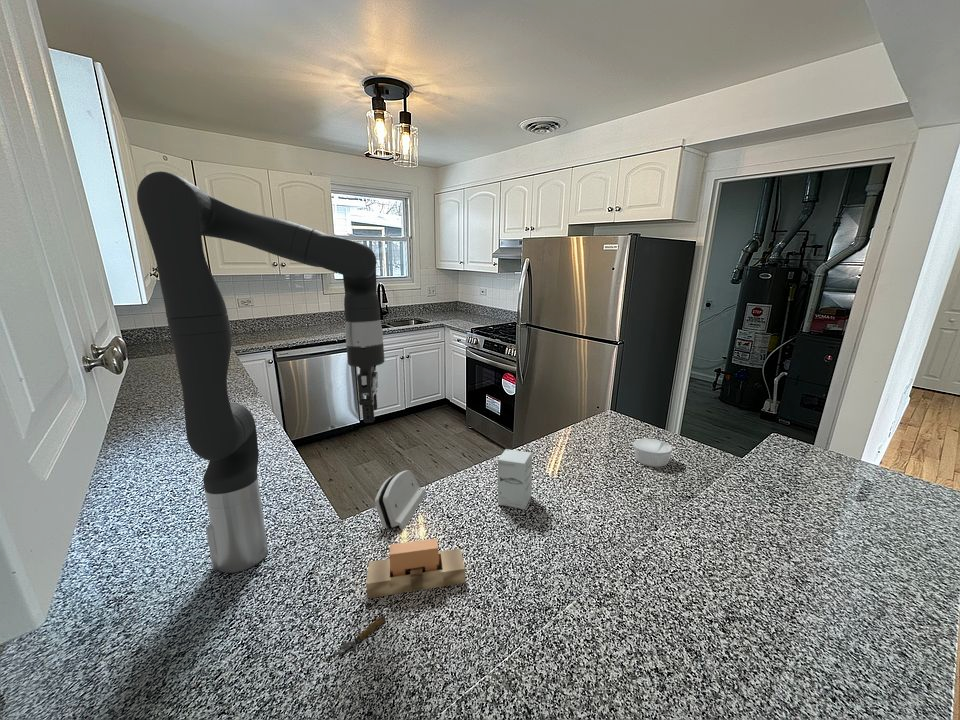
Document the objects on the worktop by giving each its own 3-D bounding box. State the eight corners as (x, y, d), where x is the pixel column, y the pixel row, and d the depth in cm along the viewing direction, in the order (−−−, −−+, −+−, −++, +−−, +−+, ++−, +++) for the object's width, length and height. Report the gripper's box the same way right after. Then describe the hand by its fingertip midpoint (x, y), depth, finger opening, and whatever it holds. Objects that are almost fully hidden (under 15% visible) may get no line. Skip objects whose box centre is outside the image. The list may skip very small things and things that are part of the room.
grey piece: (402, 531, 91) (386, 492, 90) (385, 535, 92) (369, 497, 91) (427, 494, 107) (413, 461, 106) (412, 498, 108) (398, 465, 107)
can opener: (382, 619, 67) (382, 613, 67) (390, 627, 65) (389, 621, 65) (331, 655, 61) (330, 648, 61) (338, 664, 59) (337, 658, 59)
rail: (367, 598, 71) (366, 583, 71) (370, 575, 77) (369, 561, 76) (465, 582, 74) (464, 568, 74) (461, 561, 80) (460, 548, 80)
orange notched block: (391, 587, 74) (389, 554, 72) (392, 576, 77) (390, 544, 75) (439, 580, 75) (438, 547, 74) (438, 569, 78) (437, 538, 77)
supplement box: (497, 505, 100) (496, 459, 98) (506, 491, 107) (505, 447, 105) (525, 510, 98) (524, 463, 95) (532, 496, 104) (532, 451, 102)
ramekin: (678, 468, 118) (679, 452, 117) (640, 469, 118) (641, 453, 117) (661, 453, 129) (662, 438, 128) (627, 454, 129) (628, 438, 128)
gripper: (351, 339, 89) (357, 407, 92) (340, 348, 75) (348, 428, 78) (384, 337, 90) (389, 405, 93) (381, 346, 76) (386, 425, 79)
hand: (370, 415), depth 86 cm, fingers open, 8 cm apart
